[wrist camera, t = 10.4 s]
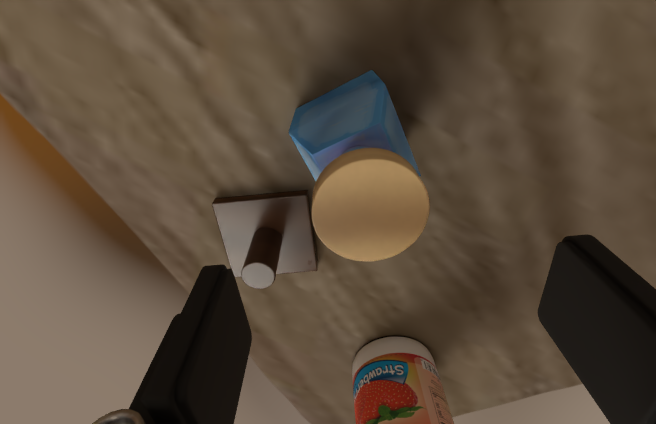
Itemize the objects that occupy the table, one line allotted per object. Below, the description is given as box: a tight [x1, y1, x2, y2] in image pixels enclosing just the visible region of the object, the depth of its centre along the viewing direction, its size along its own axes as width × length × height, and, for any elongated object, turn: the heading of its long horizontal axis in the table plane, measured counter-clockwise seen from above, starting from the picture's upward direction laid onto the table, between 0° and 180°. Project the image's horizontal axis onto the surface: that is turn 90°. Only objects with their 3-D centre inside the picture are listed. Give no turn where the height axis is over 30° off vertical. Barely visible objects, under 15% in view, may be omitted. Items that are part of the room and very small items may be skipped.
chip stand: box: [212, 190, 318, 289], centre depth 29 cm, size 8×8×6 cm
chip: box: [311, 148, 430, 261], centre depth 16 cm, size 5×5×1 cm
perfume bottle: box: [289, 70, 421, 181], centre depth 22 cm, size 6×6×12 cm
